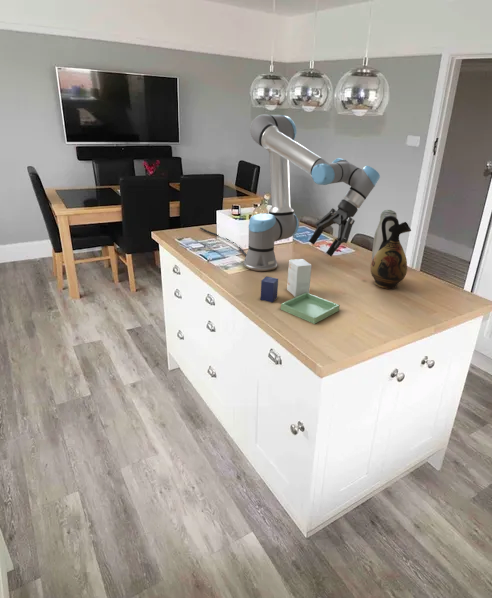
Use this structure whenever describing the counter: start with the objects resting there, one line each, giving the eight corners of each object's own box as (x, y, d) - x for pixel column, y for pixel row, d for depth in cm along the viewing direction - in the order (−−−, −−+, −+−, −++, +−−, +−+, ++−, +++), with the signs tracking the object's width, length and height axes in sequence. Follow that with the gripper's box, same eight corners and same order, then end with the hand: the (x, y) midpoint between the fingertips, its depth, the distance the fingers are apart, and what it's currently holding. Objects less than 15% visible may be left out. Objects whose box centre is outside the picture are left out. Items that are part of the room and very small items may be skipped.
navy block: (260, 299, 160) (261, 280, 156) (265, 295, 164) (266, 276, 161) (272, 302, 158) (273, 283, 155) (277, 297, 163) (278, 278, 159)
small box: (309, 295, 167) (312, 265, 161) (295, 297, 164) (297, 266, 158) (300, 288, 173) (302, 258, 168) (286, 289, 170) (288, 259, 165)
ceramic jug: (407, 283, 186) (420, 217, 174) (398, 294, 174) (411, 224, 161) (371, 274, 193) (381, 210, 181) (359, 285, 181) (370, 216, 168)
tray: (280, 309, 153) (280, 303, 152) (306, 297, 165) (306, 292, 164) (314, 324, 145) (315, 318, 144) (339, 310, 156) (339, 305, 155)
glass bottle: (382, 262, 210) (391, 207, 198) (394, 269, 202) (405, 212, 190) (366, 264, 206) (374, 207, 194) (378, 271, 198) (388, 213, 186)
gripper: (375, 217, 156) (342, 264, 159) (339, 200, 176) (310, 242, 178) (363, 207, 152) (330, 255, 154) (327, 191, 171) (298, 234, 174)
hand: (319, 248), depth 166 cm, fingers open, 13 cm apart
